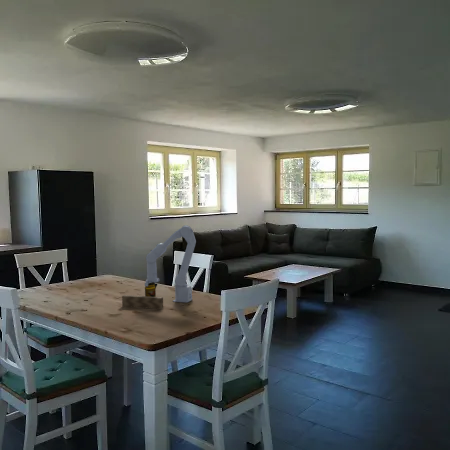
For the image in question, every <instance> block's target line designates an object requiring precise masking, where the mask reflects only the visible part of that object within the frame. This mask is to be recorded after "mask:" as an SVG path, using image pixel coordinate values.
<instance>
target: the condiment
mask: <svg viewBox="0 0 450 450" xmlns="http://www.w3.org/2000/svg"><path fill="white" fill-rule="evenodd" d="M155 284H156V283H155ZM155 284H154V282H152V283H148V286H145V285H144V296H149V297H157V296H156V294H157V293H156V291H157V289H156V290H155Z"/></svg>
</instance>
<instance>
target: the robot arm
mask: <svg viewBox="0 0 450 450" xmlns="http://www.w3.org/2000/svg"><path fill="white" fill-rule="evenodd" d="M180 238H184V240H185V242H186V243H187V245H186V249H185V251H184V254H183V259H182V262H181V265H180V269H179V272H178V274H177V275H176V276H175V280H174V283H175V284H174V298H175V299H173V300H172V302H175V303H189V302H190V301H192V300H193V289H192V286H189V285H188V284H187V279H188V278H187V275H188V271H189V267H190V264H191V260H192V258H193V254H194V251H195V247H196V243H197V240H196V237H195V233H194V230H193V228H192V227H191V226H190V225H183V226H182V227H181V228H179V229H177V230H176V231H174V233H172V234H171V235H169V237H168V238H167V239H166V240H165V241H164V242H160V243H157V244H155V245H156V246H155V247H154V248H153V249H151V250H150V252H149V253H147V254H146V257H145V260H146V279H145V282H144V287H145V286H148V283H152V282H154V284H155V290H156V291H157V286H158V282H160V278H159V277H158V273H157V272H158V271H157V270H158V269H157V267H158V266H157V259H158V258H160V257H161V256H162V255H164V253H166V252H167V250H168V249H167V248H168V246H169V245H171V244H173V242H175V241H176V240H178V239H180Z"/></svg>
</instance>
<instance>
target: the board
mask: <svg viewBox="0 0 450 450" xmlns="http://www.w3.org/2000/svg"><path fill="white" fill-rule="evenodd" d="M121 297H122V298H121V301H122V302H121V303H122V304H121V305H122V307H123V308H124V307H125V308H136V309H137V308H141V309H151V310H152V309H154V310H163V309H164V297H163V296H162V297H161V296H156V297H149V296H145V295H132V294H131V295H129V294H123V295H121Z"/></svg>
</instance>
